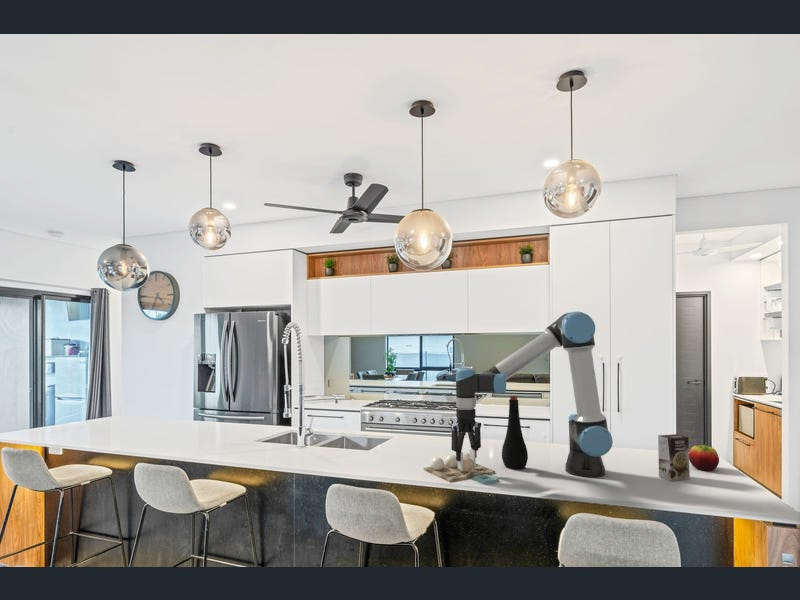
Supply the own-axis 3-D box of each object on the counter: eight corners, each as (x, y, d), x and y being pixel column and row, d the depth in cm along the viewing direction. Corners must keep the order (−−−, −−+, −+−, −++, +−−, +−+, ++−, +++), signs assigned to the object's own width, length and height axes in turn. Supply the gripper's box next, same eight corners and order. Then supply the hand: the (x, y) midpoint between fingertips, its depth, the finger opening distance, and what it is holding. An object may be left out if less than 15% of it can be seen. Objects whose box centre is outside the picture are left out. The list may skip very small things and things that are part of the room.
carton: (467, 465, 211) (467, 460, 211) (495, 476, 195) (495, 470, 196) (423, 472, 200) (423, 467, 200) (449, 485, 185) (449, 479, 185)
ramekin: (498, 484, 185) (498, 478, 185) (484, 487, 182) (484, 481, 182) (486, 479, 191) (486, 474, 192) (472, 482, 188) (472, 476, 188)
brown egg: (476, 471, 193) (476, 457, 193) (465, 473, 190) (465, 459, 190) (467, 468, 197) (467, 454, 198) (456, 470, 195) (456, 456, 195)
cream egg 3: (475, 466, 205) (474, 453, 205) (464, 468, 202) (464, 454, 202) (466, 463, 209) (466, 450, 210) (456, 465, 207) (456, 452, 207)
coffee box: (671, 481, 187) (670, 438, 188) (658, 476, 194) (657, 434, 194) (690, 479, 190) (689, 436, 191) (677, 474, 196) (675, 433, 197)
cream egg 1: (447, 471, 198) (446, 457, 198) (435, 473, 195) (435, 459, 195) (439, 468, 203) (439, 454, 203) (428, 470, 200) (427, 456, 200)
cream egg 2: (461, 469, 201) (461, 455, 202) (450, 471, 199) (450, 457, 199) (453, 465, 206) (453, 452, 206) (442, 467, 203) (442, 454, 204)
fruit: (719, 467, 205) (718, 443, 206) (720, 474, 196) (719, 448, 197) (689, 464, 211) (688, 440, 211) (688, 470, 201) (687, 445, 202)
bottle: (496, 467, 208) (495, 395, 209) (518, 464, 211) (517, 393, 213) (511, 474, 198) (509, 398, 199) (533, 471, 201) (532, 397, 203)
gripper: (478, 404, 203) (479, 462, 201) (441, 408, 194) (441, 469, 193) (490, 407, 196) (491, 466, 195) (452, 411, 187) (453, 474, 186)
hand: (466, 467), depth 194 cm, fingers closed on brown egg, 5 cm apart
